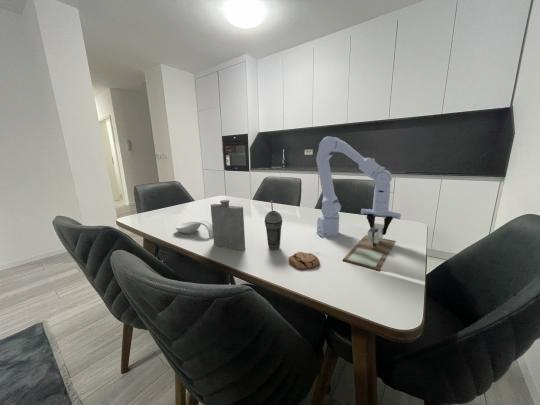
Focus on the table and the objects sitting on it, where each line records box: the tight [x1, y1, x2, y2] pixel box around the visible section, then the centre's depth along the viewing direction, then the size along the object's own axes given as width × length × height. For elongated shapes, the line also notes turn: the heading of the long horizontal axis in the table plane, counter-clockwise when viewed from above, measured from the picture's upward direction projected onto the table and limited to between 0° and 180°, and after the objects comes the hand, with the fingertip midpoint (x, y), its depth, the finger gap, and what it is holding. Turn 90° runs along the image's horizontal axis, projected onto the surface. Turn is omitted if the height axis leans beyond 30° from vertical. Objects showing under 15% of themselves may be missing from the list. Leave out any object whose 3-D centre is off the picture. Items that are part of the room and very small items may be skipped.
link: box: [367, 222, 385, 244], centre depth 89 cm, size 11×4×4 cm, turn 142°
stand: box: [342, 234, 397, 273], centre depth 84 cm, size 28×12×6 cm, turn 142°
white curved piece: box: [175, 220, 213, 239], centre depth 110 cm, size 24×12×7 cm, turn 60°
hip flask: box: [210, 199, 246, 251], centre depth 91 cm, size 16×4×20 cm, turn 61°
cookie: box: [288, 251, 321, 271], centre depth 78 cm, size 10×11×3 cm
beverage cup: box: [264, 199, 283, 251], centre depth 89 cm, size 7×7×20 cm
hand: (378, 232), depth 92 cm, fingers closed on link, 4 cm apart
